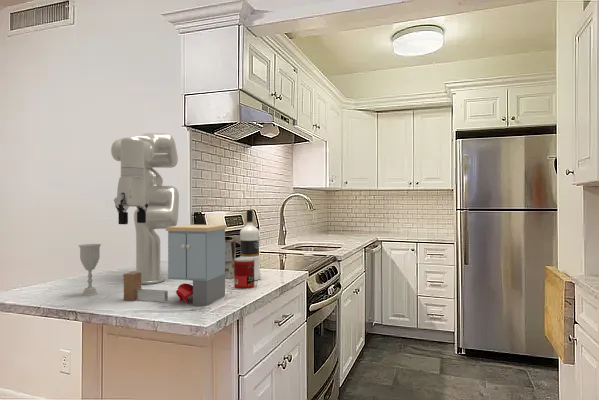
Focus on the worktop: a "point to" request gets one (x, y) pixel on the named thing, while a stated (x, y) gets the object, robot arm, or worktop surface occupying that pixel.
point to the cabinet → (198, 259)
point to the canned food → (244, 272)
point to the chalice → (89, 264)
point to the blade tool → (141, 290)
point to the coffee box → (230, 258)
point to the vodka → (250, 243)
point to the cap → (184, 291)
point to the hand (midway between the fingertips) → (132, 223)
